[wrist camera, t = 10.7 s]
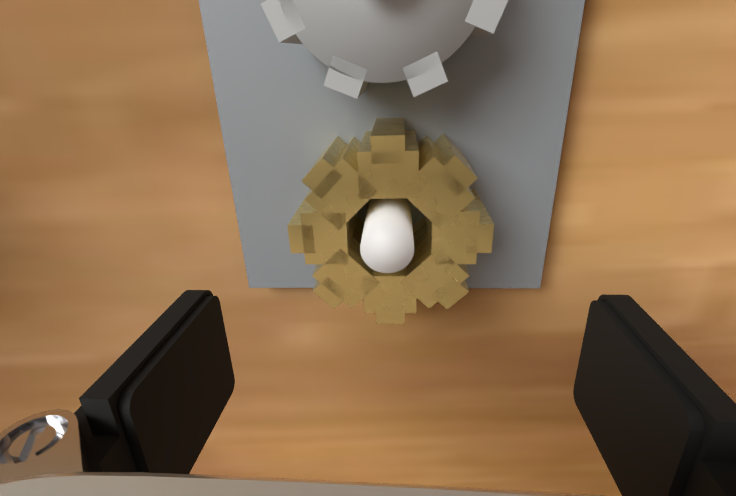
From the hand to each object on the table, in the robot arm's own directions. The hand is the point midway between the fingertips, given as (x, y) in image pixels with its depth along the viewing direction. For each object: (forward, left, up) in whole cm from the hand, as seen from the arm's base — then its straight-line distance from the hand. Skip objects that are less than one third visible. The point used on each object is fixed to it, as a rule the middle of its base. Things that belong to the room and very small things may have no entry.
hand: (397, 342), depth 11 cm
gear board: (0, -5, -11) cm, 12 cm away
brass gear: (0, -1, -9) cm, 9 cm away
